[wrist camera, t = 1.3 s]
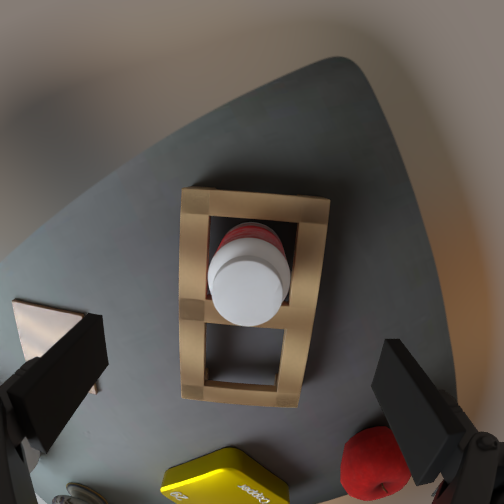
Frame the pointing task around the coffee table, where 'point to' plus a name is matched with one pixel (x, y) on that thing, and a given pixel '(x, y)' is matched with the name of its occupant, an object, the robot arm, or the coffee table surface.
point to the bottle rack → (288, 317)
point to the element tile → (224, 481)
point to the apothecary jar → (79, 496)
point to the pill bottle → (249, 275)
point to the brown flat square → (43, 328)
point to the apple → (373, 465)
